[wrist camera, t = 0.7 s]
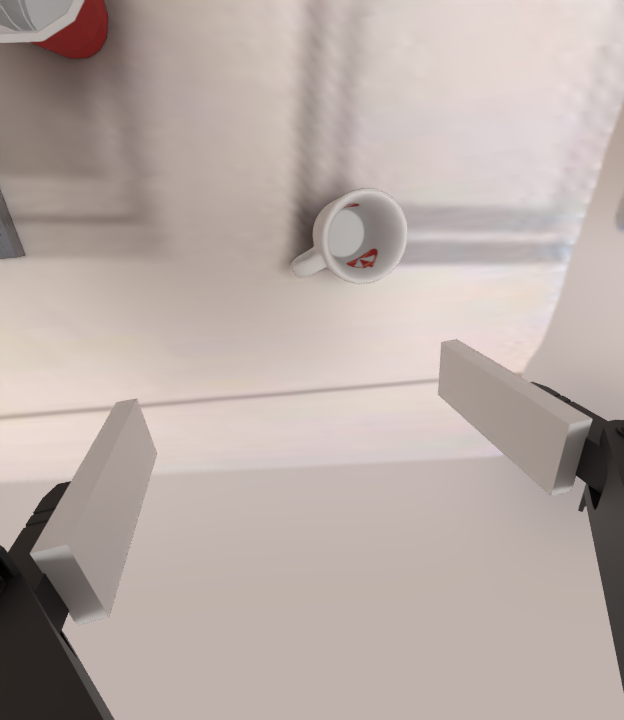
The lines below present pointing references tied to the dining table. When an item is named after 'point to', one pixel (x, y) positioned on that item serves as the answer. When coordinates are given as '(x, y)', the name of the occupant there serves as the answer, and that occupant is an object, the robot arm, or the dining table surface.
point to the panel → (8, 235)
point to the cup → (356, 238)
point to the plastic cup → (56, 25)
